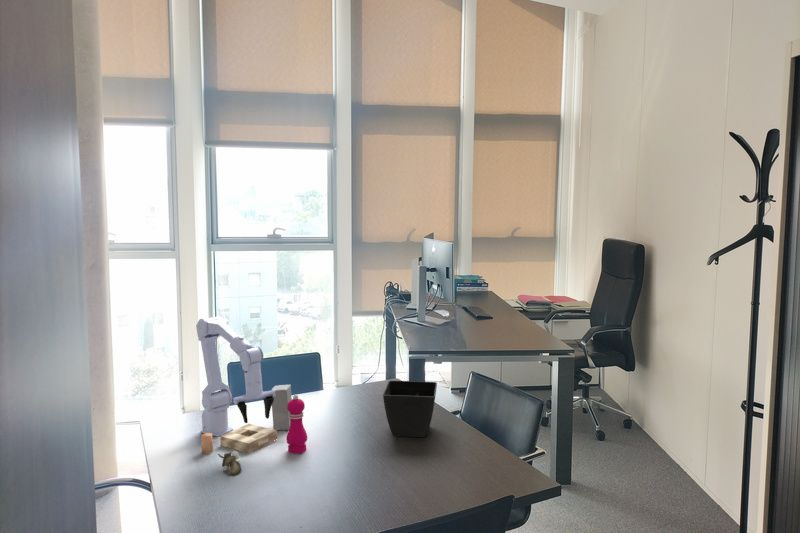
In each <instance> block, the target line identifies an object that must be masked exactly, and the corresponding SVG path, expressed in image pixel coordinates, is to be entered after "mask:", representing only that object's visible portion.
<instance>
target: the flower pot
mask: <svg viewBox="0 0 800 533" xmlns="http://www.w3.org/2000/svg"><path fill="white" fill-rule="evenodd" d="M437 386H438V383H437V382H436V381H420V380H418V381H415V380H413V381H411V380H389V381H388V382H387V384H386V387H385V389H384V391H383V394H382V398H383V404H384V411H385V417H386V420H387V424H388V427H389V430H390V433H391V435H392V436H393V437H404V438H407V437H409V438H427V436H428V433H429V430H430V427H431V423H432V418H433V414H434V408H435V402H436V401H435V400H436V394H437Z"/></svg>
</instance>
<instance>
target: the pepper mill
mask: <svg viewBox="0 0 800 533" xmlns="http://www.w3.org/2000/svg"><path fill="white" fill-rule="evenodd" d="M305 406H306V405H305V402H304V401H303V399H301V398H299V396H298V395H297V394H294V395H293V396H292V400H290V401H289V402H288V405H287V409H288V411H289V412H290V413H289V418H290V421H291V422H290V428H289V430H287V434H286V438H285V439H286V442H287V444H288V446H287V452H288V451H289V452H290V454H292V453H293V455H298V454H303V453H305V452H306V451H307V444H306V443H307V441H308V433H307V431H306V429H305V427H304V423H303V418H304V410H305ZM289 452H288V453H289Z"/></svg>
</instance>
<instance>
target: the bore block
mask: <svg viewBox="0 0 800 533" xmlns="http://www.w3.org/2000/svg"><path fill="white" fill-rule="evenodd" d="M219 437H220V438H219V439H220V446H221V447H225V448H229V449H232V450H235V451H238V452H239V451H240V452H244V453H246V454H251V453H253V452H255V451H257V450H259V449H261V448H262V447H265V446H267V445H269V444H271V443H272V442H273V443H274V442H275V441H277V440H278V430H274V428H273V429H272V428H269V427H264V426H260V425H256V424H251V423H246V424H245V425H242V426H240V427H238V428H235V429H233V430H232V431H230V432H227V433H225V434H223V435H220V436H219ZM276 439H277V440H276ZM274 440H275V441H274ZM270 442H271V443H270Z"/></svg>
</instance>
